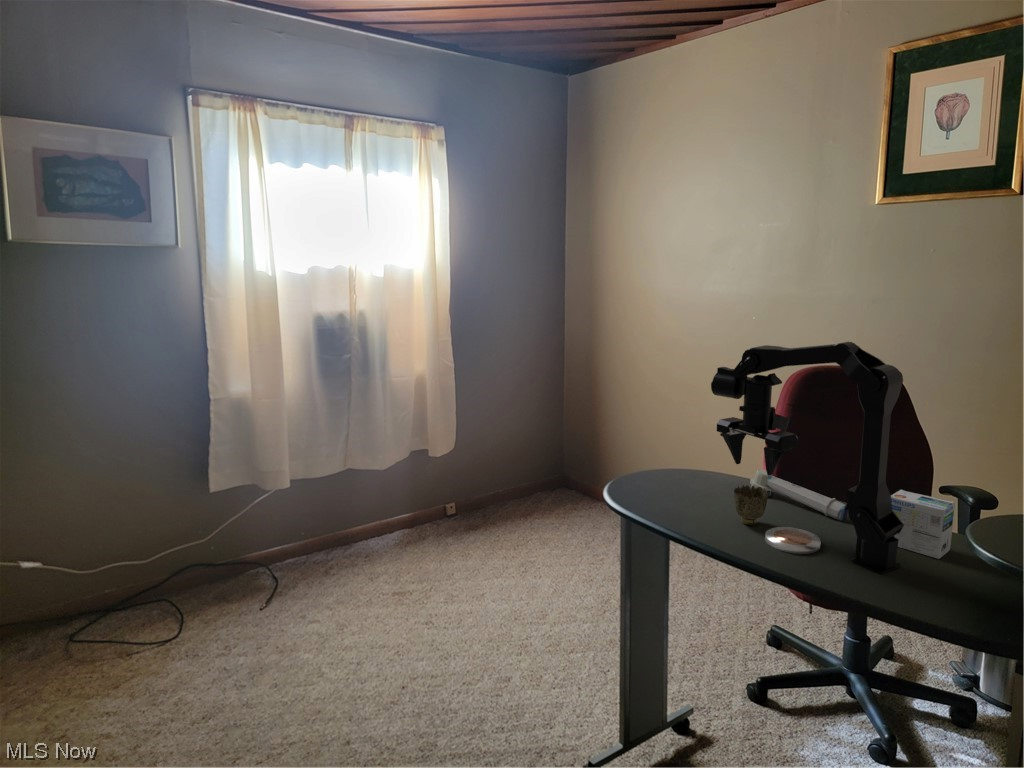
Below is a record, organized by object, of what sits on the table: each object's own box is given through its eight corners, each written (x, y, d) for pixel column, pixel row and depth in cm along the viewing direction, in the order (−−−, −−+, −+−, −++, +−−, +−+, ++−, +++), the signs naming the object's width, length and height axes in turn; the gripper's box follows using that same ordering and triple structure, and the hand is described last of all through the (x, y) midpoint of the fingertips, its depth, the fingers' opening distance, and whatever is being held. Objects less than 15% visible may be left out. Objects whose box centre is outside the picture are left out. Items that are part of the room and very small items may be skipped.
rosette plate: (831, 546, 140) (832, 541, 140) (795, 558, 135) (796, 552, 135) (789, 528, 150) (789, 522, 150) (753, 538, 145) (754, 532, 145)
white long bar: (840, 507, 152) (748, 466, 171) (834, 533, 154) (744, 489, 173) (852, 502, 155) (761, 462, 174) (846, 528, 157) (756, 485, 176)
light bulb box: (950, 550, 138) (957, 501, 136) (940, 560, 134) (946, 509, 132) (895, 534, 146) (900, 488, 144) (883, 543, 142) (888, 495, 140)
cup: (728, 516, 157) (730, 484, 155) (760, 516, 157) (762, 484, 155) (737, 529, 150) (739, 496, 148) (770, 529, 149) (773, 496, 148)
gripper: (818, 406, 143) (812, 475, 146) (750, 391, 160) (747, 453, 163) (781, 412, 138) (777, 483, 141) (716, 396, 155) (713, 460, 158)
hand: (753, 469), depth 151 cm, fingers open, 9 cm apart
